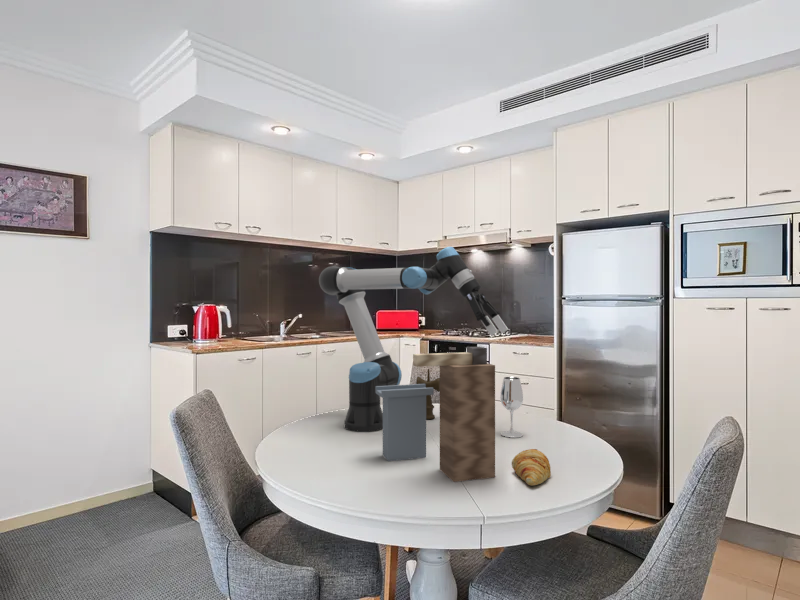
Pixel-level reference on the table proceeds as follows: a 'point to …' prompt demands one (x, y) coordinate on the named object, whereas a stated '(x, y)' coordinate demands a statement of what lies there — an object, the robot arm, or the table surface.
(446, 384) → the walnut stand
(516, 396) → the wineglass
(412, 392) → the rail stand
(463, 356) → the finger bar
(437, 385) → the kendama
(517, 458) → the croissant
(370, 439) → the table surface
